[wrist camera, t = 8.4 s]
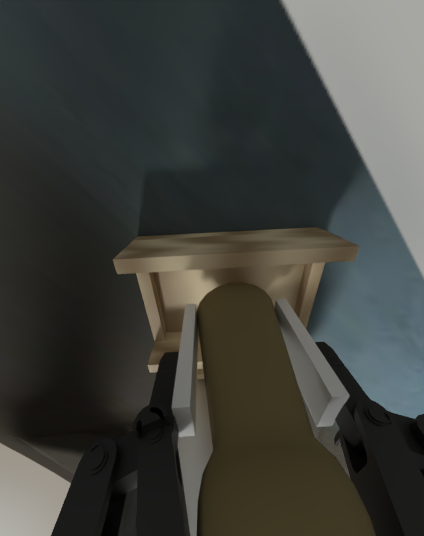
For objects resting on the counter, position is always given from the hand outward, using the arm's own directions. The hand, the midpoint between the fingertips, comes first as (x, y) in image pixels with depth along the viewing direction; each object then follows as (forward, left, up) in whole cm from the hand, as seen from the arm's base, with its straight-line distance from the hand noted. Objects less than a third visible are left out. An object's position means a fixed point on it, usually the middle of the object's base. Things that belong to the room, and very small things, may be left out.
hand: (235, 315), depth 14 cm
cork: (0, 0, 0) cm, 0 cm away
